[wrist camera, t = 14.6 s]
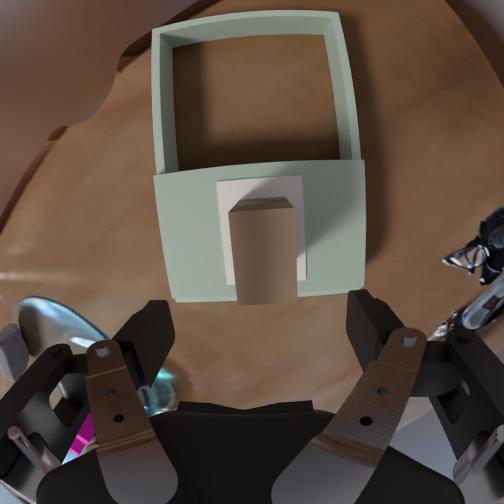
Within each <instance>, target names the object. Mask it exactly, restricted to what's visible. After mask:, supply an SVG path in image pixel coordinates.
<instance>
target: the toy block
mask: <svg viewBox="0 0 504 504" xmlns="http://www.w3.org/2000/svg"><path fill="white" fill-rule="evenodd" d="M94 433H95V430H94V426H93V421H92V416H91V414H88V416H87V418H86V420H85V421H84V423H83V425H82V427H81V429H80V430H79V432H78V434H77V436H76V438H75V440H74V442H73V443H72V445H71V447H70V449H69V450H71V451H72V452H74V453H75V454H76V455H78V456H79V455H80V453H81V451H82V449H83V448H84V446H85V445H88V444H89V442H90V441H91V439H92V437H93V435H94Z"/></svg>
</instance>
